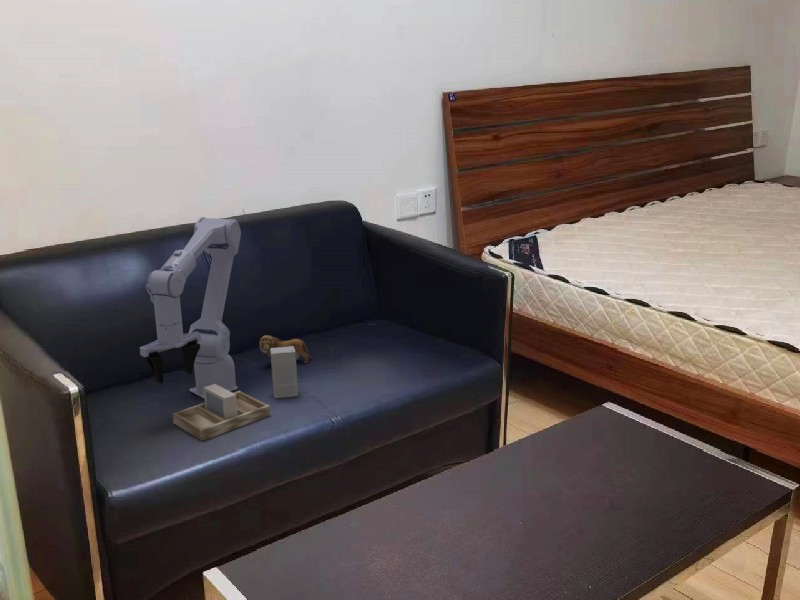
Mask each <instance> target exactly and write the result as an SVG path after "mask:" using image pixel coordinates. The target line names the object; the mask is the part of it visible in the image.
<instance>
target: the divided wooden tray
mask: <svg viewBox="0 0 800 600" xmlns="http://www.w3.org/2000/svg"><path fill="white" fill-rule="evenodd" d="M233 393H234V394H236V398H237V412H238V416H236V417H233V418H230V419H227V420H224V419H222V418H221V417H219V416H217V415H215V414H213V413H211V412H210V411H208V410H206V408H205V402H201V403H199V404H196V405H194V406H191V407H187V408H185V409H182V410H179V411H177V412H173V413H172V423H173V425H175V424H176V426H178V428H180V429H182V430H184V431H185V432H186V433H189V434H190V435H192V436H193V437H195V438H197V439H199V440H200V441H202V442H204V441H206V440H209V439H212V438H215V437H217V436H219V435H222V434H224V433H225V434H226V433H227V432H230V431H233V430H236V429H238V428H241V427H242V426H243V427H244V426H246V425H249V424H252V423H253V422H257V421H259V420H262V419H265V418H267V417H269V416H271V407H270V404H267V403H266V402H263V401H261V400H259V399H257V398H255V397H253V396H251V395H249V394H246V393H245V392H243V391H241V390H236V391H234V392H233Z"/></svg>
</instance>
